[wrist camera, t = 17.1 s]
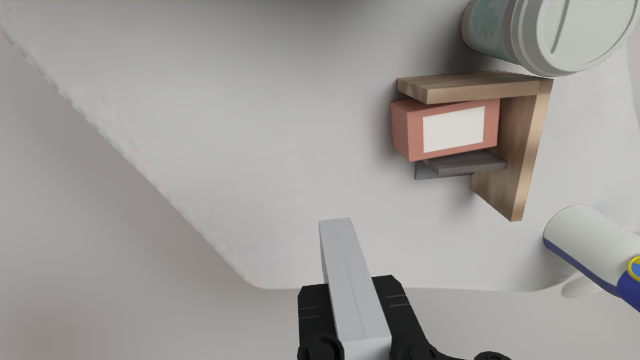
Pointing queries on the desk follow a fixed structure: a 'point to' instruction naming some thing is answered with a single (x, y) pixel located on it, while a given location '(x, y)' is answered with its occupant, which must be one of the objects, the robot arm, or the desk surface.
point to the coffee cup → (549, 32)
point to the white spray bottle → (597, 250)
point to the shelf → (512, 138)
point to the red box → (443, 127)
